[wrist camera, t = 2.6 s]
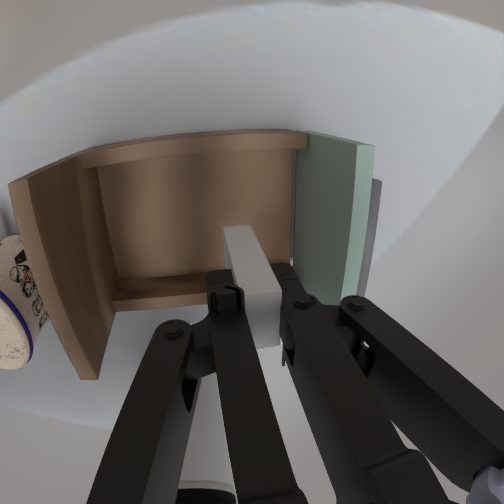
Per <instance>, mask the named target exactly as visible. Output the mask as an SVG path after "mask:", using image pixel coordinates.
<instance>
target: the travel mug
mask: <svg viewBox="0 0 504 504" xmlns="http://www.w3.org/2000/svg"><path fill="white" fill-rule="evenodd" d="M201 380H202V381H201V385H200V390H199V394H198V399H197V403H196V408H195V412H194V416H193V421H192V425H191V430H190V435H189V439H188V444H187V448H186V453H185V458H184V462H183V467H182V472H181V477H180V481H179V486H178V491H177V496H176V501H175V504H236V498H235V497H236V494H235V490H234V484H233V478H232V473H231V468H230V462H229V456H228V450H227V444H226V439H225V433H224V426H223V420H222V413H221V407H220V400H219V393H218V386H217V378H216V372H215V373H213V374H210V375H207V376H205V377H202V378H201Z"/></svg>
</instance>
